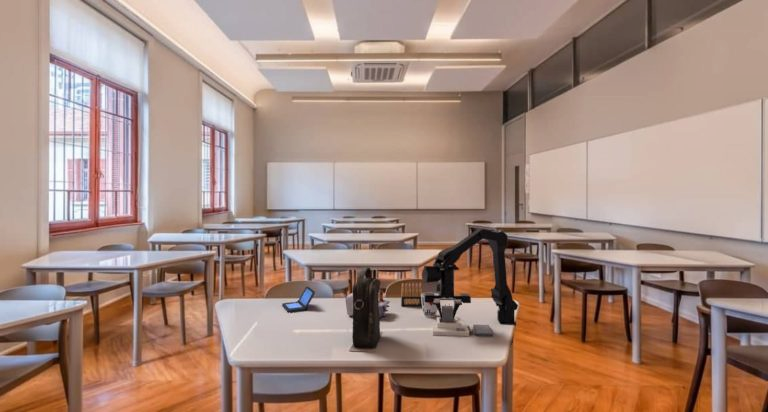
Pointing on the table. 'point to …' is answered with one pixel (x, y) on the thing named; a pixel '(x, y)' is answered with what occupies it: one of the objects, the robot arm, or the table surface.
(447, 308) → the charger block
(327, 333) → the table surface
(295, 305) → the handheld game console
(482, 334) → the phone
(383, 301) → the cell model
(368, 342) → the shoulder bag
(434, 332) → the outlet plate
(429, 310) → the cup
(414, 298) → the ammunition clip
